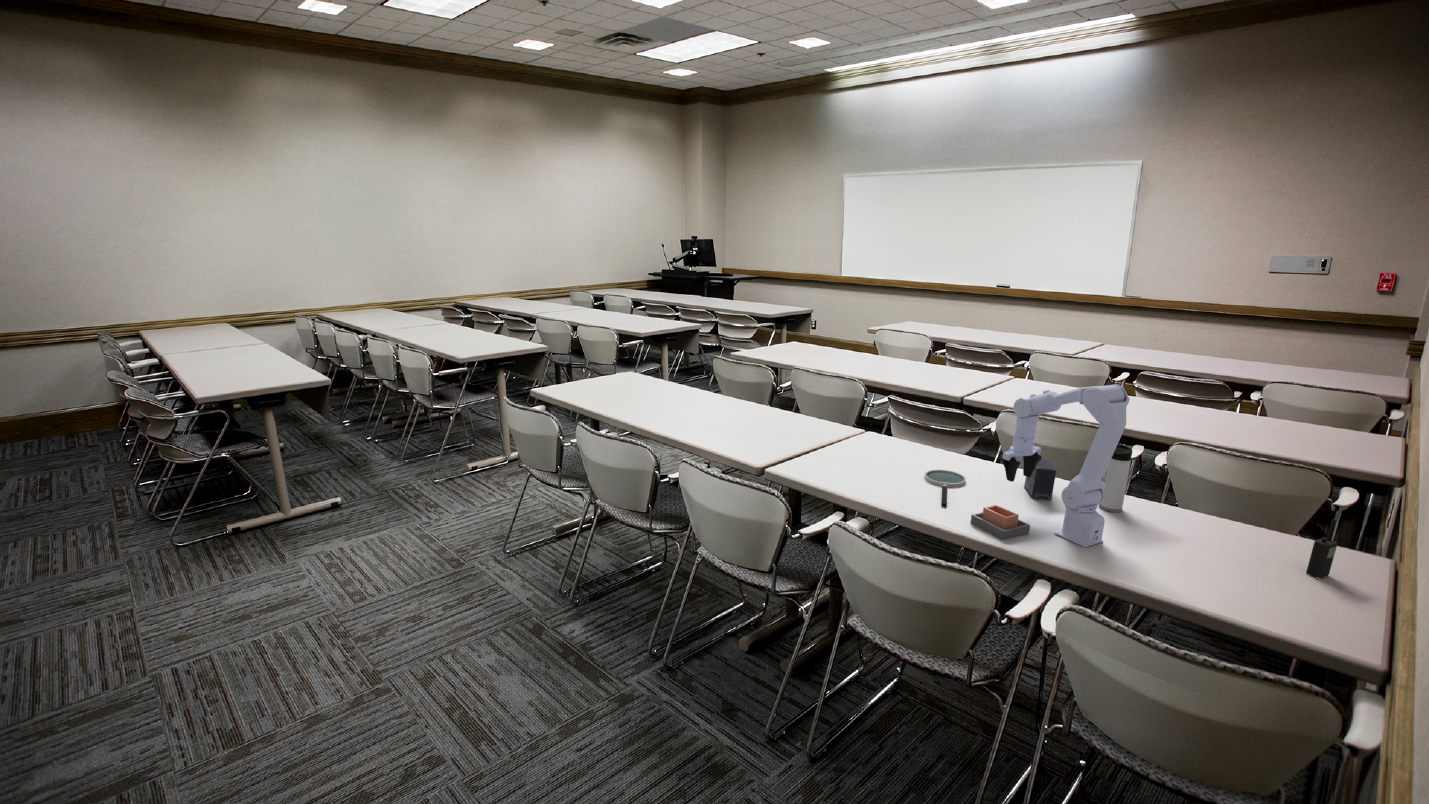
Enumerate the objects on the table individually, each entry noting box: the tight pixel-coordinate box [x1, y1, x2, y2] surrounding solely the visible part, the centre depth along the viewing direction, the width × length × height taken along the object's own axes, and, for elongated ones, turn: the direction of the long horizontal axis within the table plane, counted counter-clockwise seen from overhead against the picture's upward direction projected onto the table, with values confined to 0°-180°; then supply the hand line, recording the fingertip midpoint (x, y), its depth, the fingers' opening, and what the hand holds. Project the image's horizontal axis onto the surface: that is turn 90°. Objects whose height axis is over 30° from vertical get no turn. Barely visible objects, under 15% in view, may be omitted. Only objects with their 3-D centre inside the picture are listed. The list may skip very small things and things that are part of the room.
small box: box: [1023, 458, 1057, 501], centre depth 218 cm, size 11×6×10 cm, turn 168°
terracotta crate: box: [982, 504, 1019, 530], centre depth 193 cm, size 8×5×5 cm, turn 28°
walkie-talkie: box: [1305, 518, 1338, 579], centre depth 168 cm, size 5×3×15 cm
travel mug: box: [1098, 443, 1133, 513], centre depth 205 cm, size 6×7×20 cm
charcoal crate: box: [970, 511, 1031, 541], centre depth 193 cm, size 12×10×3 cm
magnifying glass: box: [924, 469, 967, 508], centre depth 221 cm, size 13×31×2 cm, turn 161°
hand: (1018, 478), depth 206 cm, fingers open, 7 cm apart
